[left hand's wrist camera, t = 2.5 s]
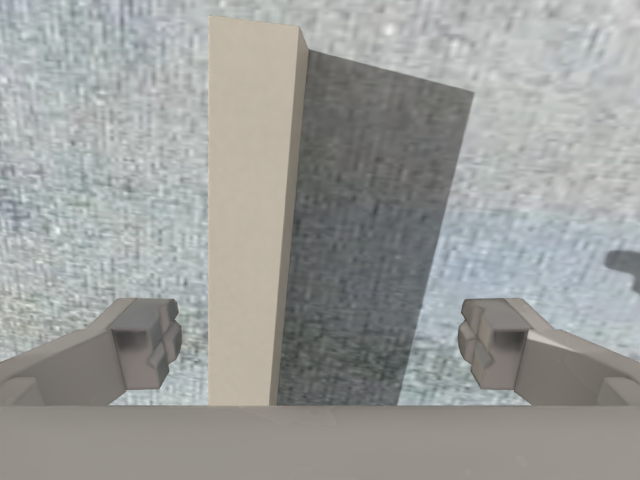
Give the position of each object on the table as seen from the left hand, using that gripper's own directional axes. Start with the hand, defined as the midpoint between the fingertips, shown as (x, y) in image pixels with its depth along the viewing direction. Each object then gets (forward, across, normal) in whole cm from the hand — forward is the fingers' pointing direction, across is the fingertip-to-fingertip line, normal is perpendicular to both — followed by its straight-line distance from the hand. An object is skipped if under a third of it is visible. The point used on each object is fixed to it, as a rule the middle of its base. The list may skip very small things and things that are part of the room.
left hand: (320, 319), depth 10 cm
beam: (+21, -6, -18) cm, 29 cm away
